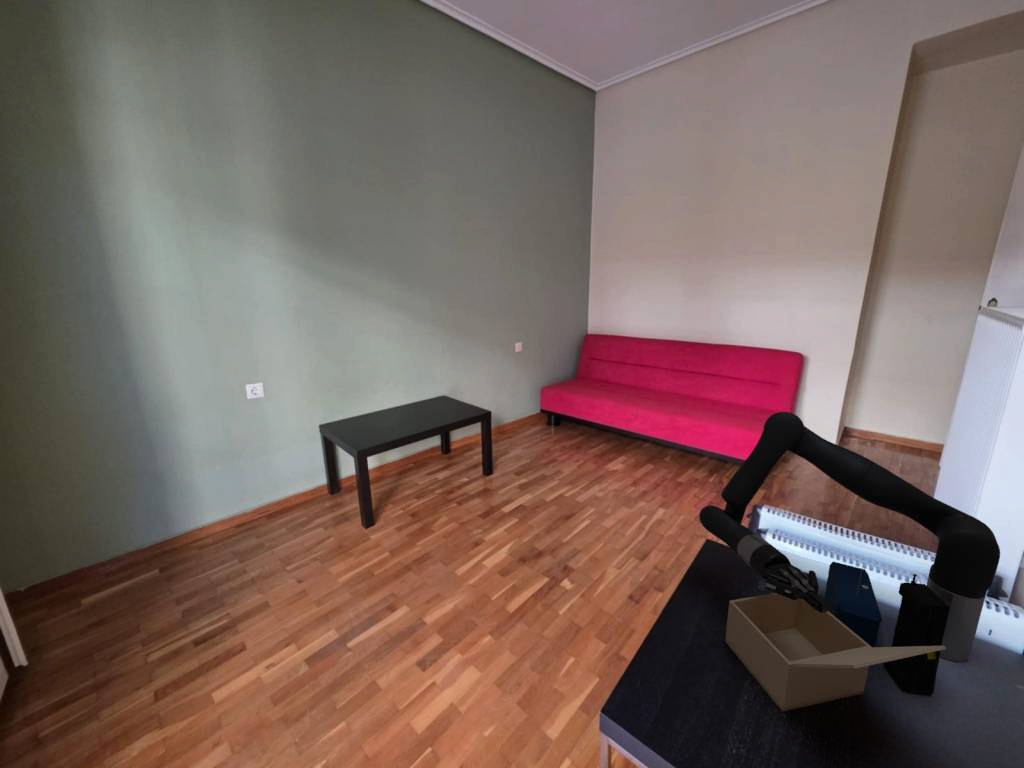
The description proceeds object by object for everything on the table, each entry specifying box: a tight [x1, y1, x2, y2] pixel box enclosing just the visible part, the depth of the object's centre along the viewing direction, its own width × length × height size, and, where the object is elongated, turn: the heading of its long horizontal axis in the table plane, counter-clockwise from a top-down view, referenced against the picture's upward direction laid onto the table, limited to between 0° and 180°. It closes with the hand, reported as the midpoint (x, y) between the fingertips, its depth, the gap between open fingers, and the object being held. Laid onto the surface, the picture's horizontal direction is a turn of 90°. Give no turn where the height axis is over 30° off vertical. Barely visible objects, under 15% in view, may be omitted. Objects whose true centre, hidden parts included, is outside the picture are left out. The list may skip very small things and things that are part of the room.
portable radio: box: [883, 573, 950, 697], centre depth 89 cm, size 8×6×25 cm
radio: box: [824, 561, 883, 647], centre depth 106 cm, size 21×9×20 cm, turn 148°
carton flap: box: [792, 646, 946, 668], centre depth 79 cm, size 16×19×1 cm
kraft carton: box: [724, 590, 871, 713], centre depth 96 cm, size 18×20×12 cm
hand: (825, 608), depth 86 cm, fingers closed
